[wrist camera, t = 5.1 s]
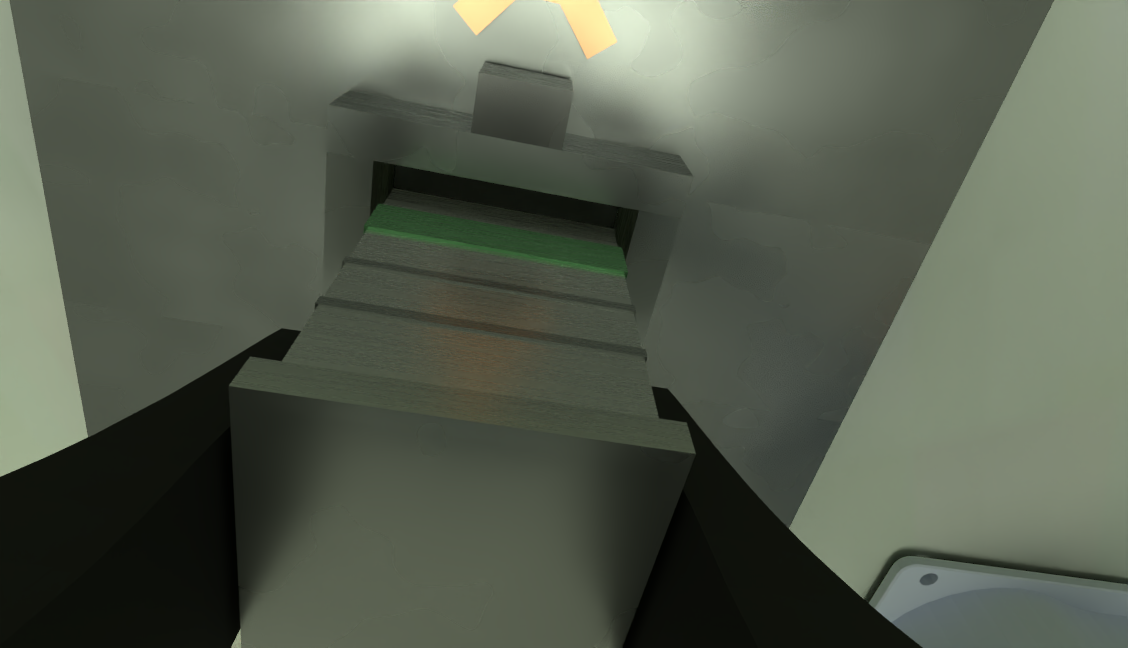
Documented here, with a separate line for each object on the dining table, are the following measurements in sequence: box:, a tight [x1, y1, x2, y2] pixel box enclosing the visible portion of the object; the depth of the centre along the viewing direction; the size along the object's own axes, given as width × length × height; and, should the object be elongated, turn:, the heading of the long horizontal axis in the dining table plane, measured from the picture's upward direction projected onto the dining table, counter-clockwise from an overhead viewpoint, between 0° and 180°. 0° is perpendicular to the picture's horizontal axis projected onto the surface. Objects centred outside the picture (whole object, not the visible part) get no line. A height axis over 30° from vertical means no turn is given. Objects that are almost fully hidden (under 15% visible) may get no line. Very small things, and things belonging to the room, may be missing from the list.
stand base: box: [10, 0, 1054, 528], centre depth 14 cm, size 18×18×2 cm
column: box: [229, 188, 696, 648], centre depth 10 cm, size 4×4×6 cm
